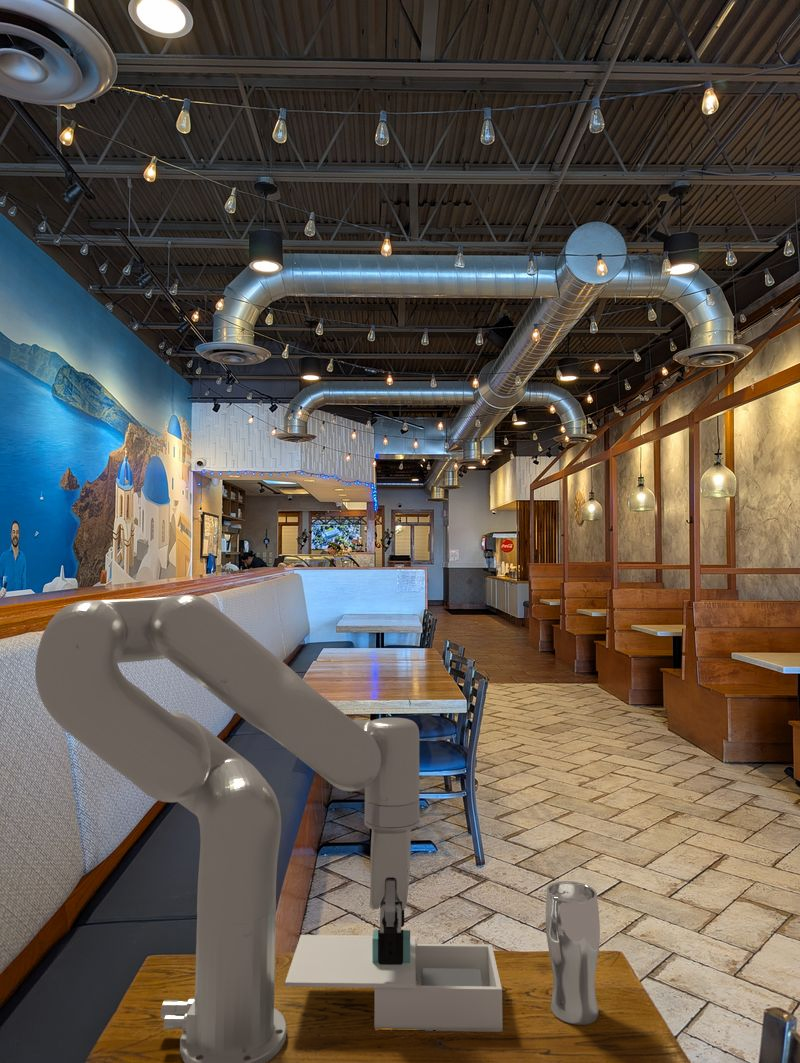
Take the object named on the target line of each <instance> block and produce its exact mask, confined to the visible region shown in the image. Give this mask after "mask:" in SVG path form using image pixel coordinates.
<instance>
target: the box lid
mask: <svg viewBox="0 0 800 1063" xmlns="http://www.w3.org/2000/svg"><path fill="white" fill-rule="evenodd" d="M378 930H379V929H373V930H372V933H373V934H372V935H371V934H370V935H368V934H367V935H365V934H364V935H363V934H362V935H361V934H360V935H359V934H355V935H353V934H352V935H350V934H345V935H344V934H343V935H342V934H300V935H299V939H298V942H297V945H296V948H295V951H294V954H293V957H292V960H291V963H290V966H289V969H288V972H287V975H286V978H285V982H284V987H285V988H287V987H291V988H293V987H295V988H361V989H363V988H365V989H366V988H367V989H369V988H374V989H375V988H416V968H415V944H416V935H411V930H410V929H409V930H408V929H407V930H406V929H405V930H404V929H402V930H403V964H402V965H380V964H379V963H378Z"/></svg>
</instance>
